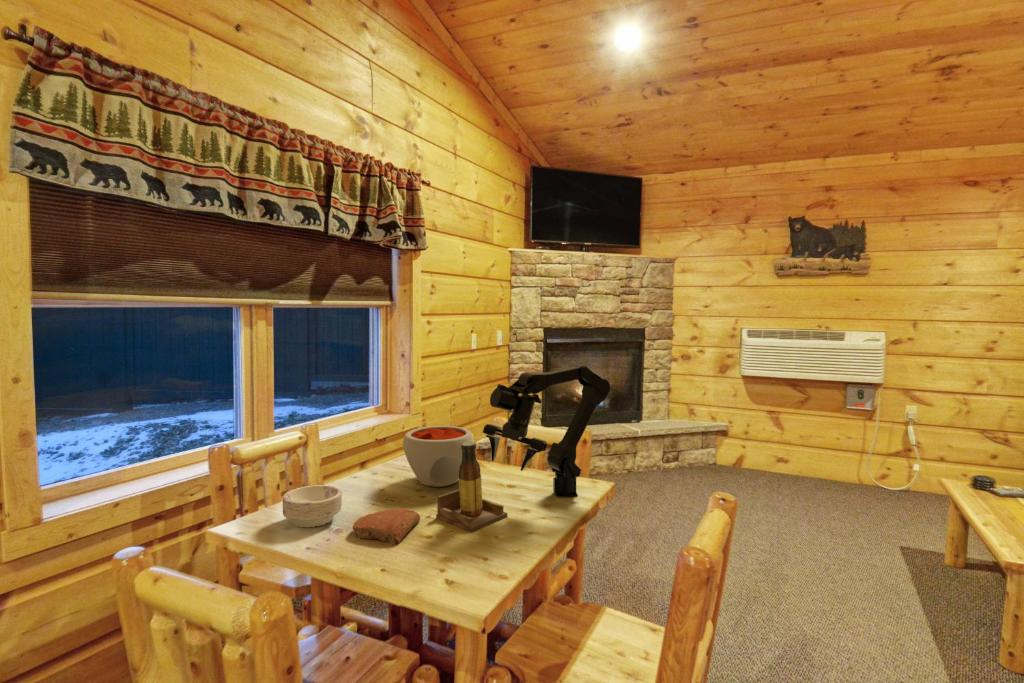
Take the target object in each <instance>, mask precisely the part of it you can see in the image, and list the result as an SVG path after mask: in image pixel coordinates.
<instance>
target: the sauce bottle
mask: <svg viewBox="0 0 1024 683" xmlns="http://www.w3.org/2000/svg"><path fill="white" fill-rule="evenodd" d="M461 449H462V462H461V465H460V468H459V480H458V484H459V486H458V489H459V492H460V508H461V513H462V514H463V515H465V516H476V515H479V514H481V513H482V499H483V493H482V492H483V491H482V490H483V487H482V475H481V474H482V473H481V465H480V463H479V462H478V460H477V457H476V449H477V444H476V442H475V441H474V442H464V443H462V444H461Z"/></svg>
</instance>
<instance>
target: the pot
mask: <svg viewBox="0 0 1024 683" xmlns="http://www.w3.org/2000/svg"><path fill="white" fill-rule="evenodd" d="M464 442H474V443H475V440H474V436H473V433H472V432H471V431H470V430H469V429H468V428H464V427H460V426H452V425H431V426H425V427H424V426H423V427H419V428H415V429H412V430H409V431H408V432H406V433H405V435H404V437H403V440H402V448H403V452H404V455H405V457H406V460H407V463H408V464H409V467H410V469H411V470H412V472H413V473H414V475H415V477H416V479H418V482H420V483H421V485H422V484H423V485H425V486H428V487H432V488H434V487H435V488H441V487H447V486H450V485H452V484H455V483H456V482H459V468H460V465H461V462H462V449H461V444H462V443H464Z"/></svg>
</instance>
